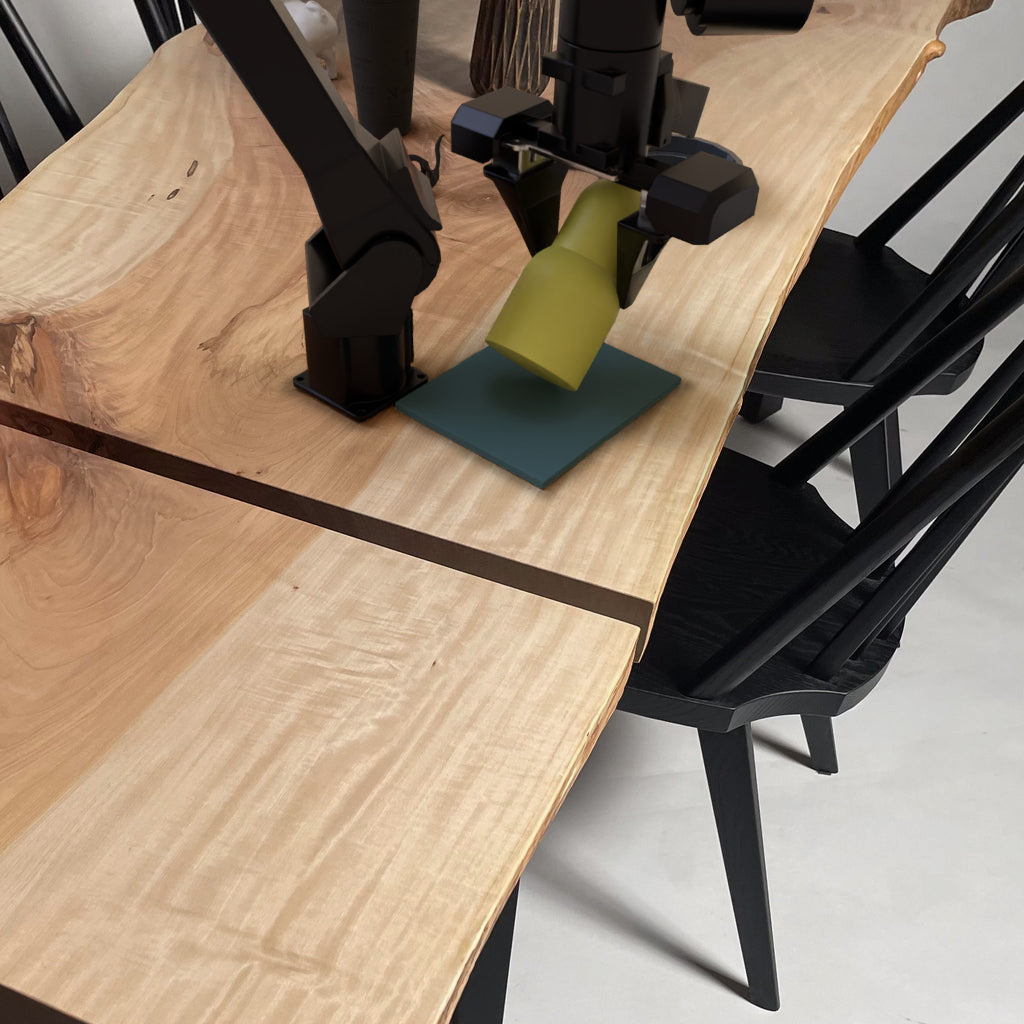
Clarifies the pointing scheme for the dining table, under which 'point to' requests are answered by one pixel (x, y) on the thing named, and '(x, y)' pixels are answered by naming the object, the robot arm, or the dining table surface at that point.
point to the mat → (536, 409)
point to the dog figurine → (316, 30)
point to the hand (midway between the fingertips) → (585, 289)
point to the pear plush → (567, 291)
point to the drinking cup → (382, 61)
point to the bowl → (688, 150)
